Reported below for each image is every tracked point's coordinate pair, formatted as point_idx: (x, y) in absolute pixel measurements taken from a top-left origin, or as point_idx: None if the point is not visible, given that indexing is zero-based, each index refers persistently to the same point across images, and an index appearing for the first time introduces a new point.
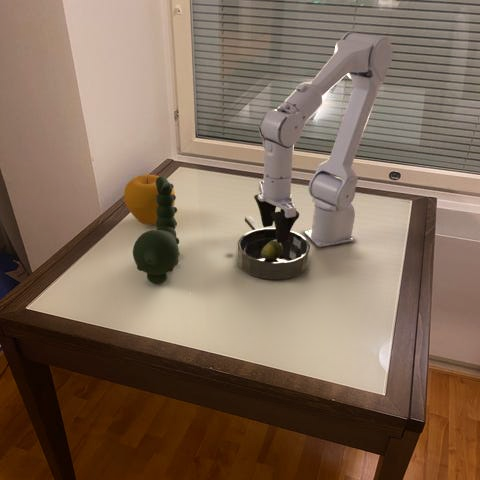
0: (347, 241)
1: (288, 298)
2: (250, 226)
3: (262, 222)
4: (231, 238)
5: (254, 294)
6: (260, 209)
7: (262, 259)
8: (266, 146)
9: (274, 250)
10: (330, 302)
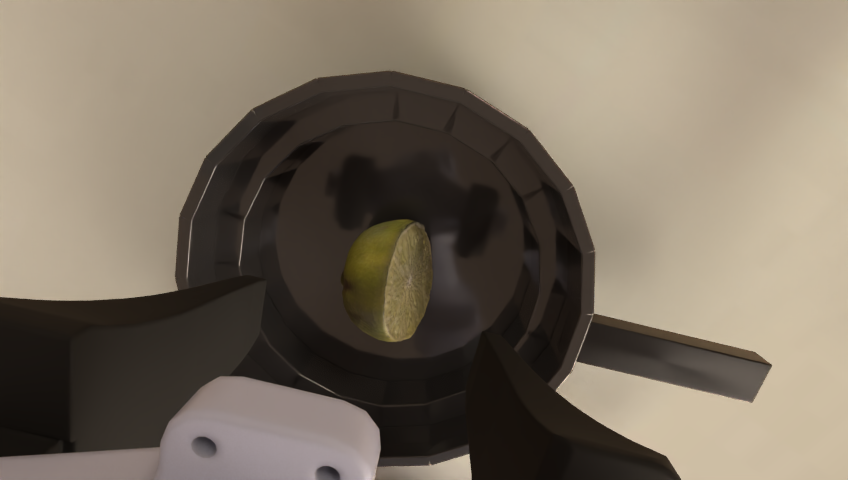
0: None
1: (107, 130)
2: (668, 333)
3: (499, 342)
4: (712, 229)
5: (196, 9)
6: (525, 394)
7: (425, 225)
8: None
9: (345, 270)
10: (22, 257)
